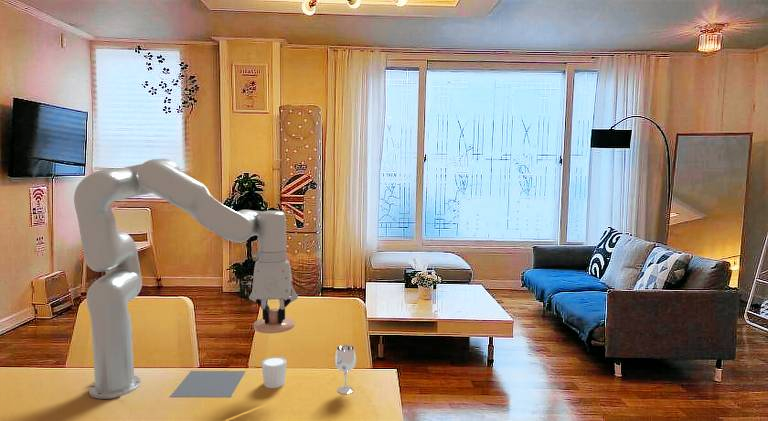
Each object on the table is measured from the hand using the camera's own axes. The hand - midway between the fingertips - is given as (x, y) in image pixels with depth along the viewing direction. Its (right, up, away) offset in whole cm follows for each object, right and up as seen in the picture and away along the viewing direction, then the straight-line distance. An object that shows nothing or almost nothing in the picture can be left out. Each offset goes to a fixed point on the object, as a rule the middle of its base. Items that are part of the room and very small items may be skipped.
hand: (274, 321), depth 143 cm
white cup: (0, -19, +2) cm, 19 cm away
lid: (0, -1, 0) cm, 1 cm away
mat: (-18, -18, +2) cm, 26 cm away
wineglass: (+20, -19, 0) cm, 27 cm away
